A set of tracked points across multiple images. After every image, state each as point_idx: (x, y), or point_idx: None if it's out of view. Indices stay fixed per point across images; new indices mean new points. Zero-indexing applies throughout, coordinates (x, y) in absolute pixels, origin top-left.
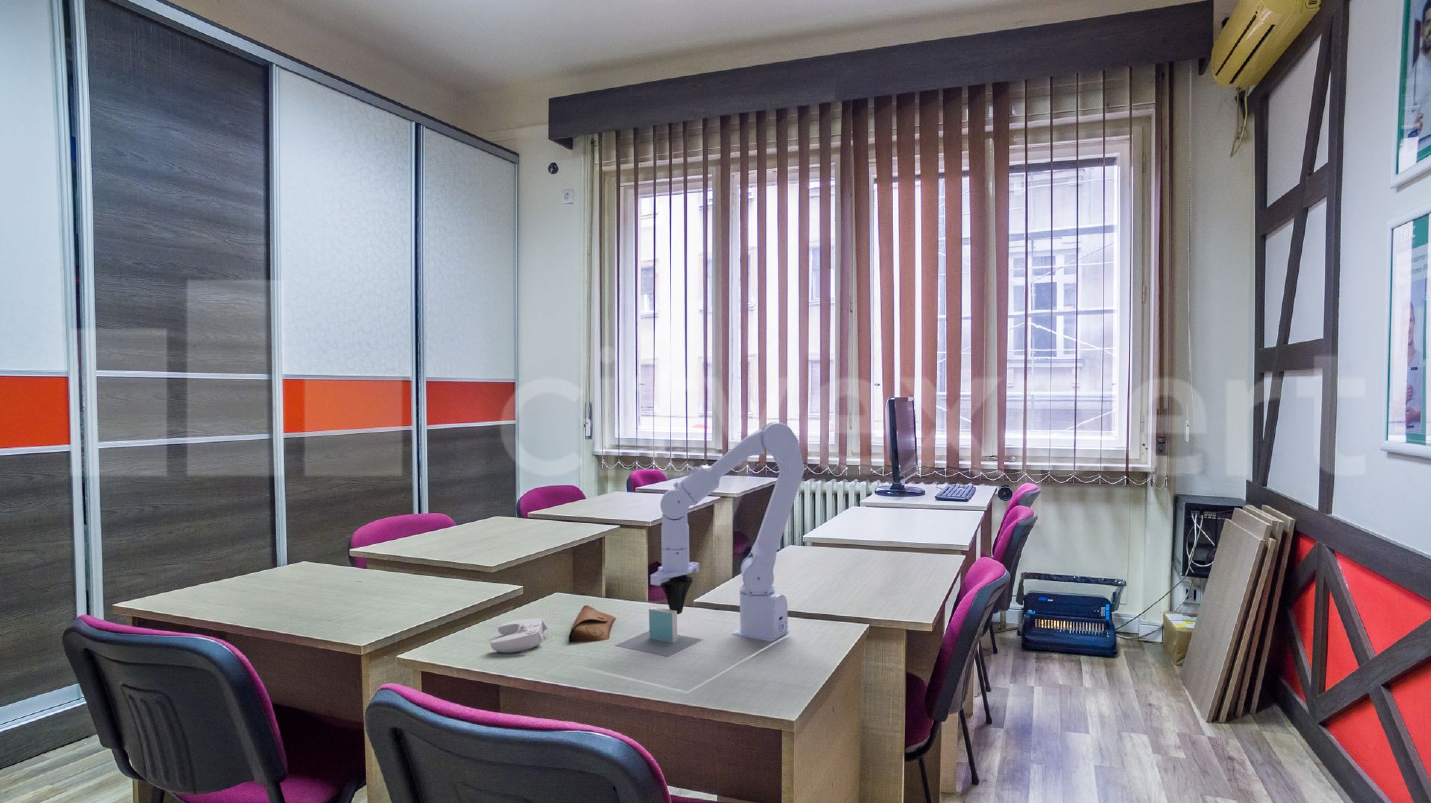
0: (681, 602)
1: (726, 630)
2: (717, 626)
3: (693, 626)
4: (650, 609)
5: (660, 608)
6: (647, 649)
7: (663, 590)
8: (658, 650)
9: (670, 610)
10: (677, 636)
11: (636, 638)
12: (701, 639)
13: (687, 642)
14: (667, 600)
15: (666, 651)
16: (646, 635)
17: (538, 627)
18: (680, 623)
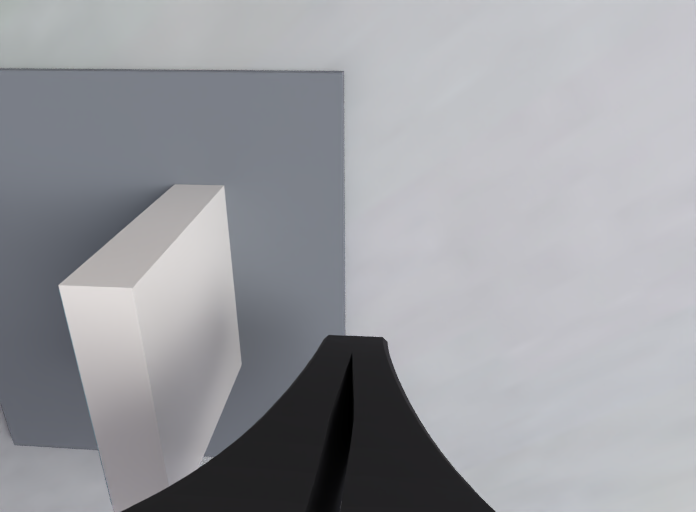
0: (339, 506)
1: (599, 472)
2: (666, 400)
3: (609, 271)
4: (66, 301)
5: (141, 377)
6: (9, 305)
7: (200, 469)
8: (43, 364)
9: (151, 476)
10: (311, 324)
11: (105, 109)
12: None
13: (251, 422)
14: (279, 399)
15: (61, 405)
16: (207, 128)
17: None
18: (653, 142)
